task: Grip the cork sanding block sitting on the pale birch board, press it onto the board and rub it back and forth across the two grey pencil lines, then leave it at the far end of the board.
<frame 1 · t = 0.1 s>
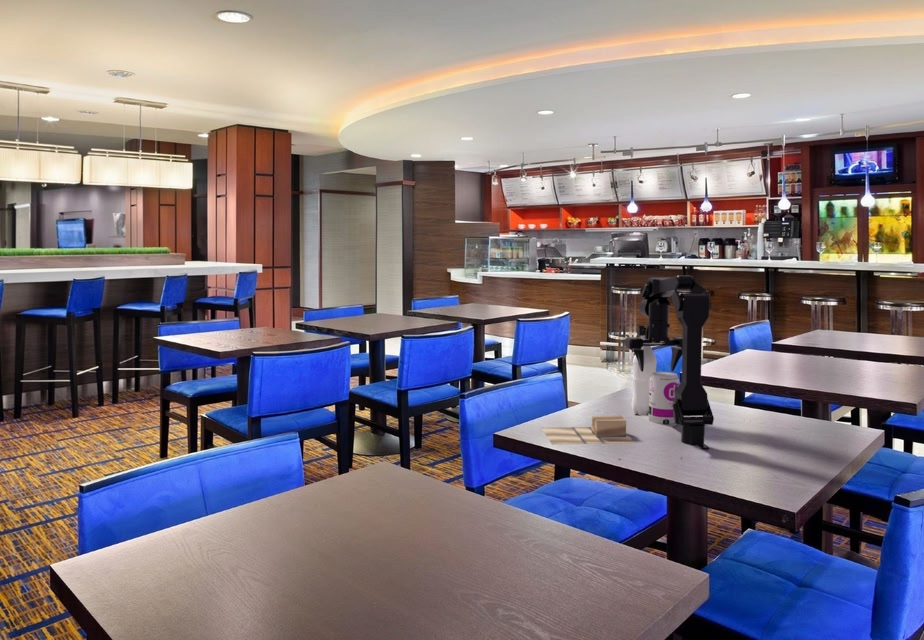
hand: (657, 371, 203), 15 cm above the table, tool pointing down, fingers open, 9 cm apart
board: (586, 439, 183), on the table
supplement can: (663, 425, 198), on the table
sanding block: (608, 434, 183), point 1 cm above the table, touching board
water bottle: (643, 415, 210), on the table
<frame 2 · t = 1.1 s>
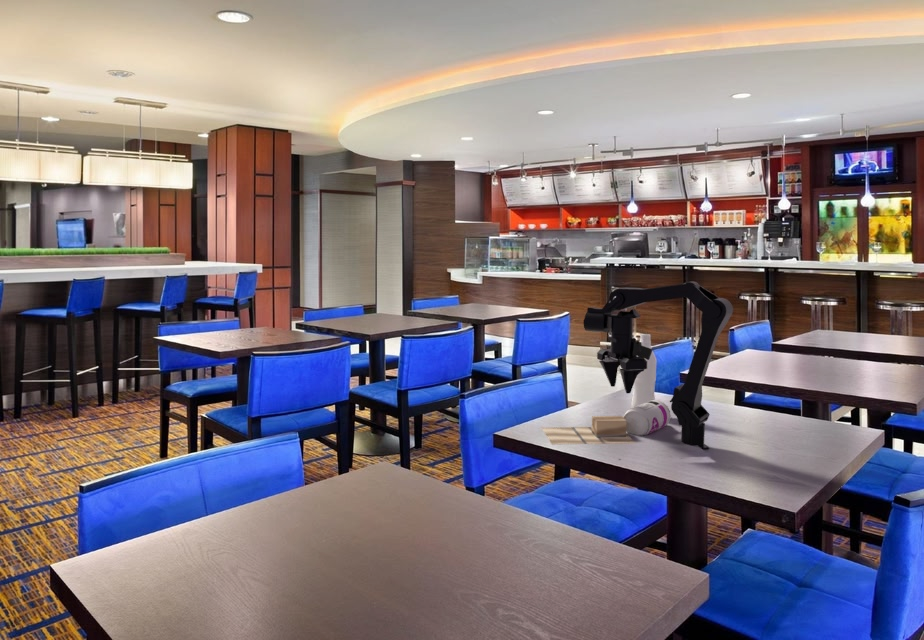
hand: (620, 389, 186), 13 cm above the table, tool pointing down, fingers open, 9 cm apart
supplement can: (658, 413, 195), point 4 cm above the table
everything else where it was.
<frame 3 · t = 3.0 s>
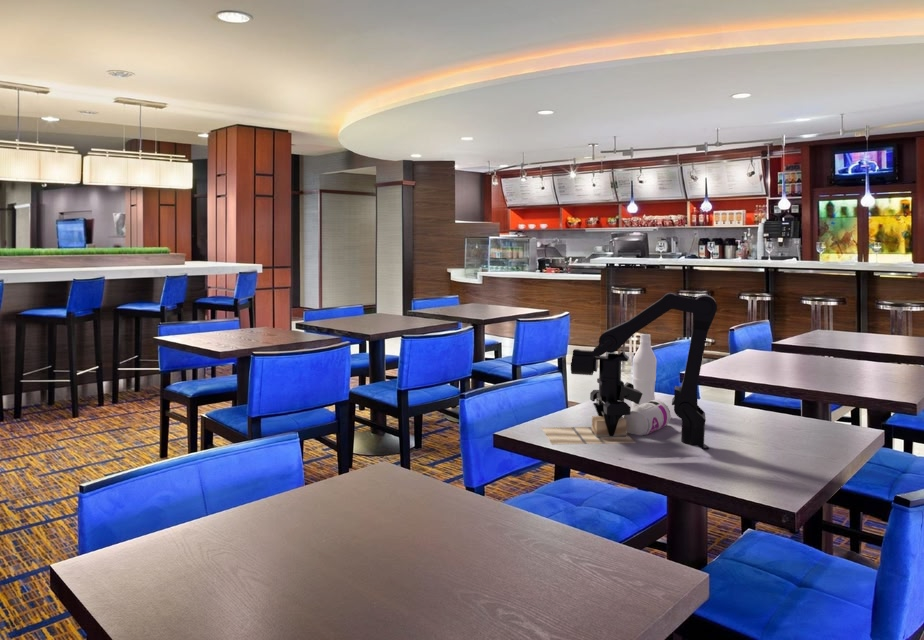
hand: (608, 433, 183), 2 cm above the table, tool pointing down, fingers closed on sanding block, 5 cm apart
sanding block: (608, 434, 183), point 1 cm above the table, touching board, gripper
everything else where it was.
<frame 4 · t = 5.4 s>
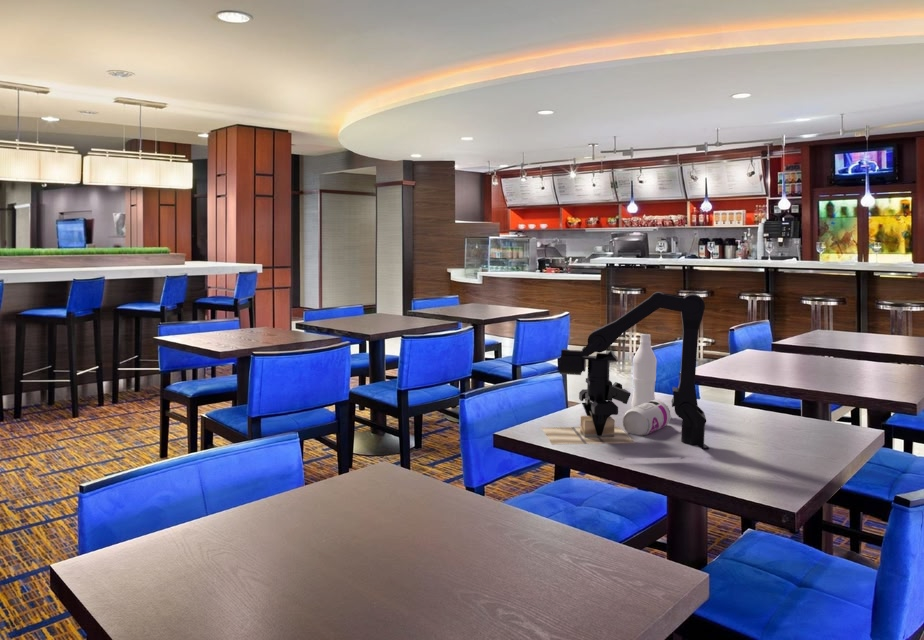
hand: (596, 432, 183), 2 cm above the table, tool pointing down, fingers closed on sanding block, 5 cm apart
sanding block: (596, 434, 183), point 1 cm above the table, touching gripper
everything else where it was.
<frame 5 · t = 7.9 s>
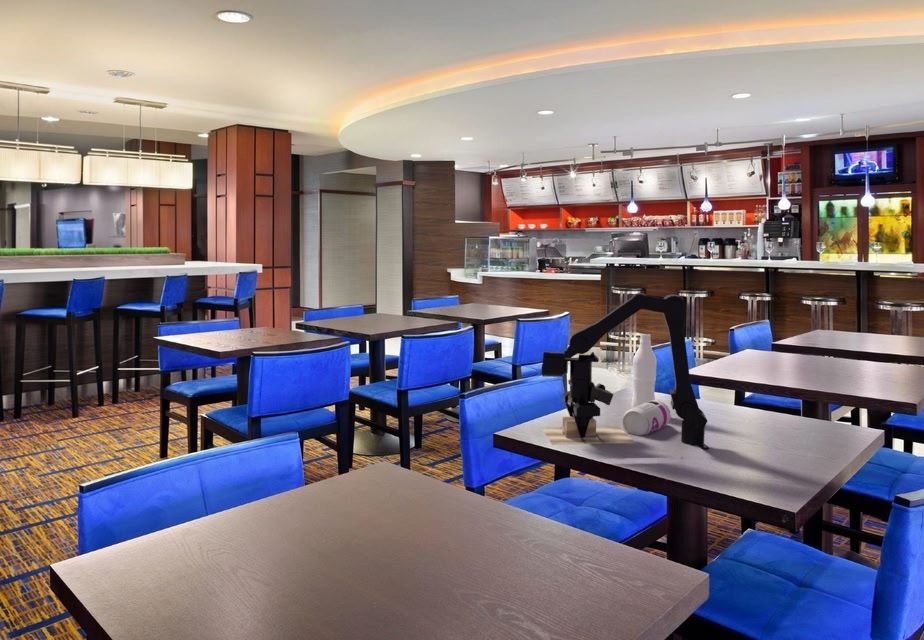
hand: (580, 434, 182), 1 cm above the table, tool pointing down, fingers closed on sanding block, 5 cm apart
sanding block: (578, 435, 182), point 1 cm above the table, touching gripper
everything else where it was.
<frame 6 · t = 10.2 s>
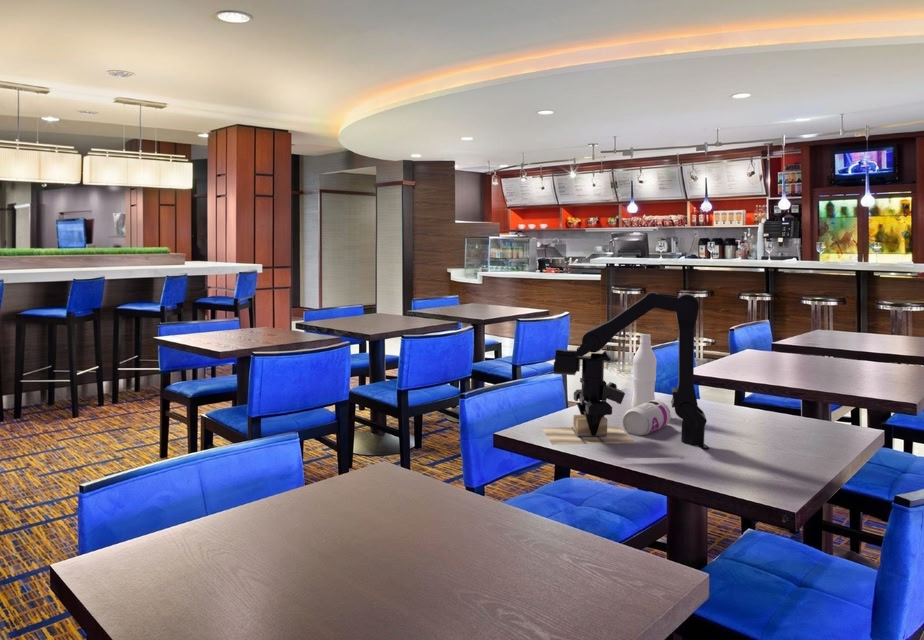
hand: (591, 432, 183), 2 cm above the table, tool pointing down, fingers closed on sanding block, 5 cm apart
sanding block: (589, 433, 183), point 2 cm above the table, touching gripper
everything else where it was.
when the fingers open (2 cm above the table, at t = 12.6 s): sanding block stays where it is, resting on board.
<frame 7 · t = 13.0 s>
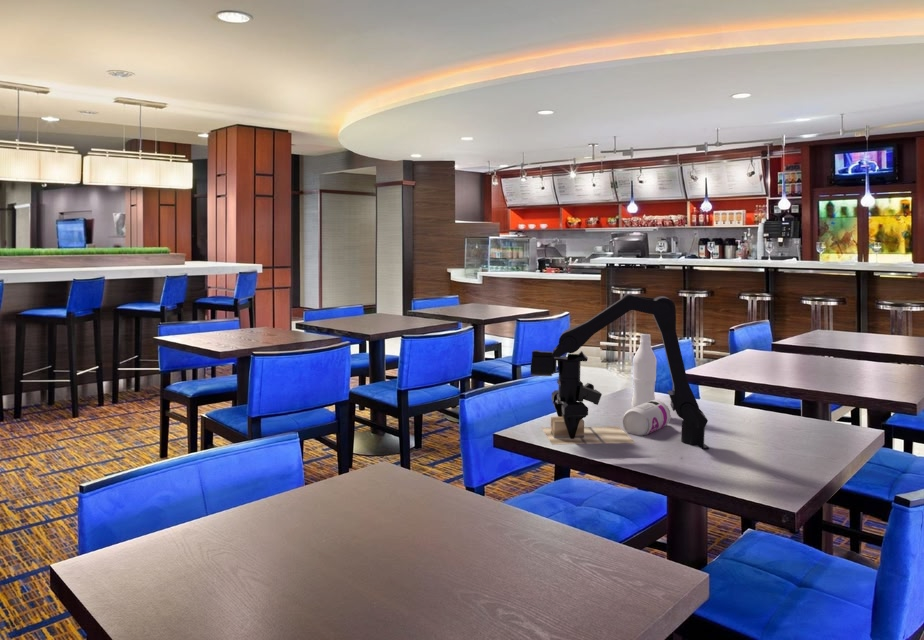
hand: (568, 433, 182), 2 cm above the table, tool pointing down, fingers open, 9 cm apart
sanding block: (567, 435, 182), point 1 cm above the table, touching board
everything else where it was.
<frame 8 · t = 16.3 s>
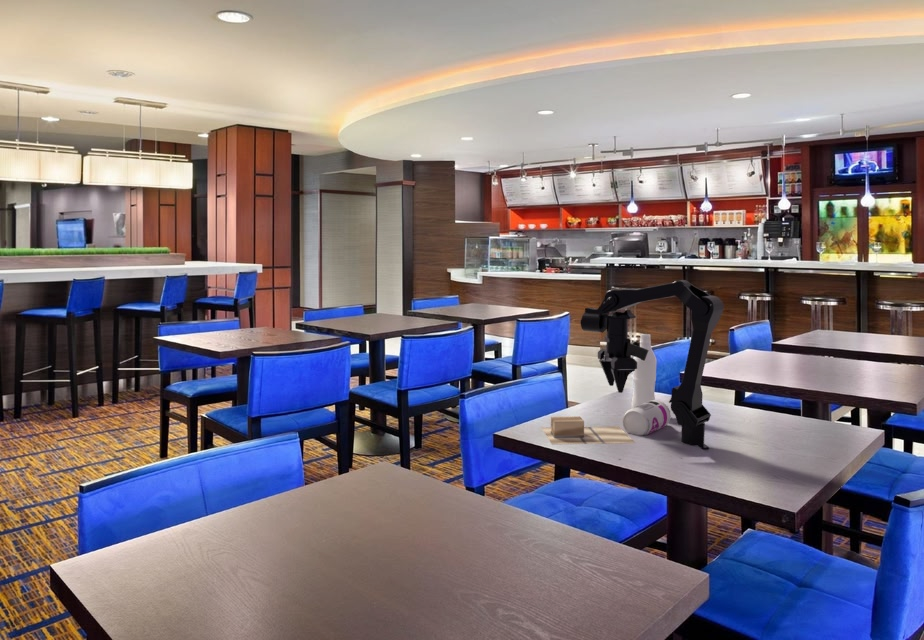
hand: (615, 389, 190), 12 cm above the table, tool pointing down, fingers open, 9 cm apart
nothing on the table moved.
at the end: sanding block inside the target area on the board (0.1 cm from its centre), point 1.2 cm above the board's base; sanding block moved 11.4 cm from its start; the gripper is holding nothing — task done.
